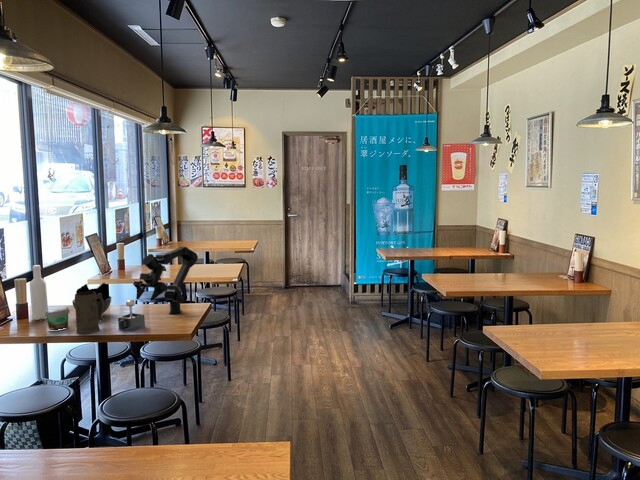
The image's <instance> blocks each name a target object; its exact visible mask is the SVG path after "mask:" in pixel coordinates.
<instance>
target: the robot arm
mask: <svg viewBox="0 0 640 480" xmlns="http://www.w3.org/2000/svg"><path fill="white" fill-rule="evenodd" d="M178 257H180V258H181V267H180V268H179V270H178V272H177V275H176V277H175V279H174V281H173V282H172V284H171V285H170V284H169V285H167V284H165V283H164V282H162V281H161V280H162V278H161V276H162V274H163V273H164V272H167V268H166V266H165V265H169V264H170V263H171V262H172V260H174V259H176V258H178ZM198 258H199V256H198V254H197V253H196V252H195V251H193V250H191V249H189V247H187V246H179V247H178V248H175V249H173V250H169V251H167V252H161V253H157V254H156V255H154V254H153V253H148V255H146V256H145V257H143V258H142V261H141V262H142V264H143V265H144V266H145V268H147V269H148V270H150V272H148V273H140V275H139V280H138V279H137V280H136V279H135V280H134V281H133V284H132V285H133V286H134V287H135V289H136V297H135V298H136V300H137V301H138V300H140V298H141V297H142V295H143V294H144V293H145V289H146V288H153V292H152V294H151V296H150V302H153V301H154V300H156V299H157V297H159V296H160V295H162V294H164V295H163V296H164V299H165V303H169V312H168V314H169V315H177V314H182V308H181V304H182V303H184V300H185V297H184V296H183V295H182V289H181V288H182V286H183V285H184V284H183V283H184V282H185V279H186V278H187V275H188V273H189V272H190V269H191V268H192V267H193V266H195V264H196V263H197V261H198ZM142 280H143V281H142Z"/></svg>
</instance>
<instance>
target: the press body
mask: <svg viewBox="0 0 640 480" xmlns="http://www.w3.org/2000/svg"><path fill="white" fill-rule="evenodd" d="M132 316H134V318H127V317H130V312H129V313H128V314H127V313H126V314H123V315H121V316H118V317H117V322H118V323H117V324H118V331H126V332H135V331H138V330H139V329H144V328H145V327H146V319H145V314H143V313H135V312H132Z"/></svg>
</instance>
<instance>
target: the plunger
mask: <svg viewBox="0 0 640 480" xmlns="http://www.w3.org/2000/svg"><path fill="white" fill-rule="evenodd" d="M125 302H126V303H125V305H126V307H129V313H130V317H127V318H134V316H132V313H133V307H134V306H135V299H127V300H126V301H125Z"/></svg>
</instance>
